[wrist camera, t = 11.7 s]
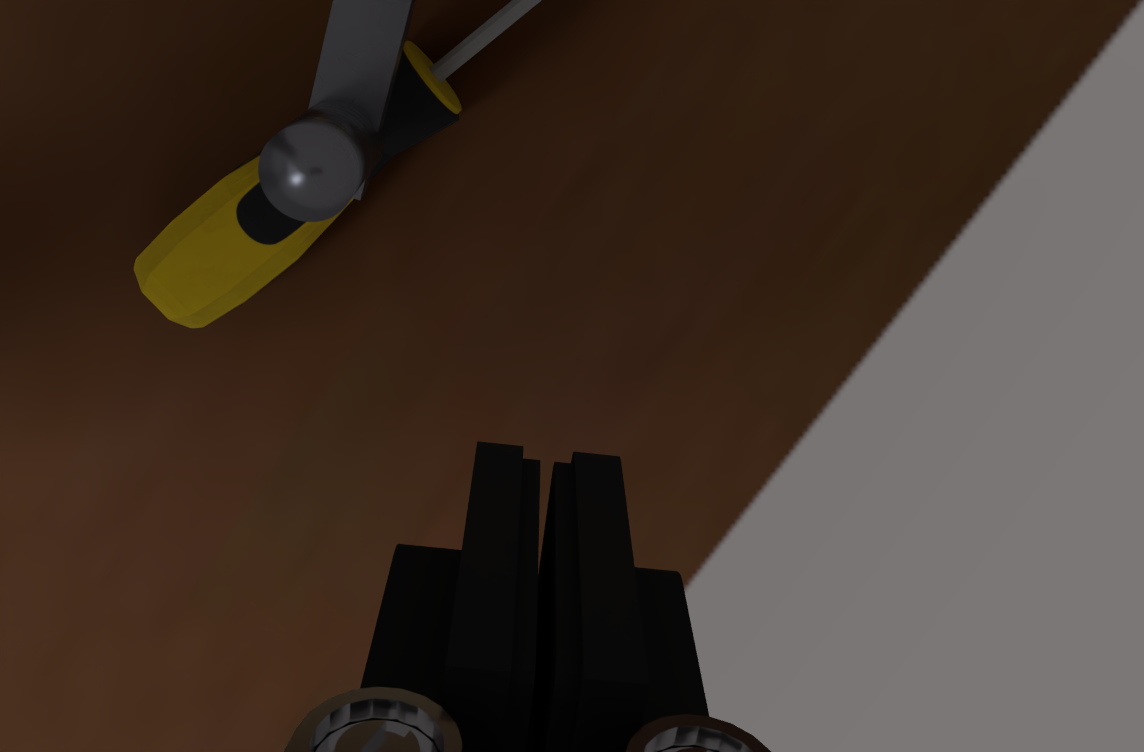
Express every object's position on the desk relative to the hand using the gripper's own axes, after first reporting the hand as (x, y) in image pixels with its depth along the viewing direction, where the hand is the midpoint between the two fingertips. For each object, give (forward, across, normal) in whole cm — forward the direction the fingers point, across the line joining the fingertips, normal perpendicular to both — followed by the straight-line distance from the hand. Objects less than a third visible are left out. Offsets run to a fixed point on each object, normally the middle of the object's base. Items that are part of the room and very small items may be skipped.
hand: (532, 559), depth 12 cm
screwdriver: (+26, +2, -4) cm, 26 cm away
